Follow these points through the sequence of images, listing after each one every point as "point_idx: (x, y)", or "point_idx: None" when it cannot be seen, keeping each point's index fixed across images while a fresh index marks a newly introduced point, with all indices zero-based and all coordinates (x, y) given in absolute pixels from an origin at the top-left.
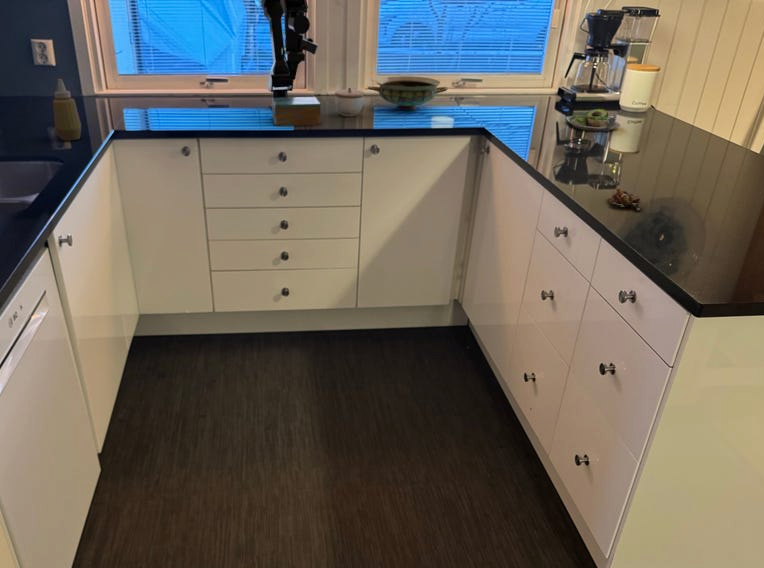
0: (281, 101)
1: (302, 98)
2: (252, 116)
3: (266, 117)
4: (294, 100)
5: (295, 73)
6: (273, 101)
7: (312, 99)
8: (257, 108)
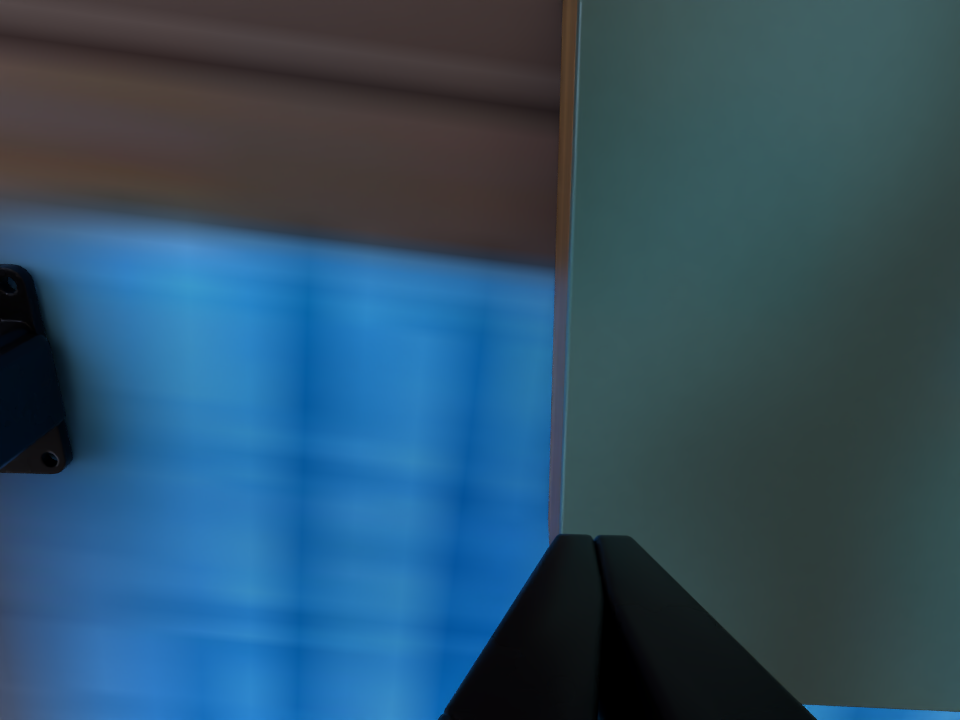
0: (905, 610)
1: (715, 221)
2: (425, 686)
3: (488, 570)
4: (883, 399)
5: (741, 669)
6: (819, 700)
7: (888, 11)
8: (30, 606)
